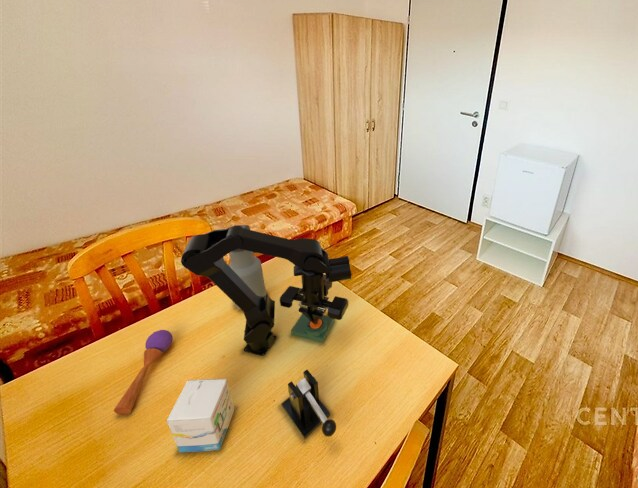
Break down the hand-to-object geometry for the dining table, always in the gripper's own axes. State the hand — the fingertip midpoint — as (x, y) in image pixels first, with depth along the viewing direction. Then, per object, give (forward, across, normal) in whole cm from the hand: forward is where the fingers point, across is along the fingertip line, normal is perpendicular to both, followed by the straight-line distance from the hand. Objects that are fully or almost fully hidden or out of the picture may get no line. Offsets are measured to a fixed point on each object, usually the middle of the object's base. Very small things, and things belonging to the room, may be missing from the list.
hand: (315, 322), depth 94 cm
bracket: (+4, -8, +21) cm, 23 cm away
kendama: (+4, +35, +23) cm, 42 cm away
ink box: (+4, +11, +30) cm, 32 cm away
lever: (-2, -11, +23) cm, 26 cm away
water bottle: (+4, +26, -6) cm, 27 cm away
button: (+2, 0, 0) cm, 2 cm away
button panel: (+4, +1, -1) cm, 5 cm away
